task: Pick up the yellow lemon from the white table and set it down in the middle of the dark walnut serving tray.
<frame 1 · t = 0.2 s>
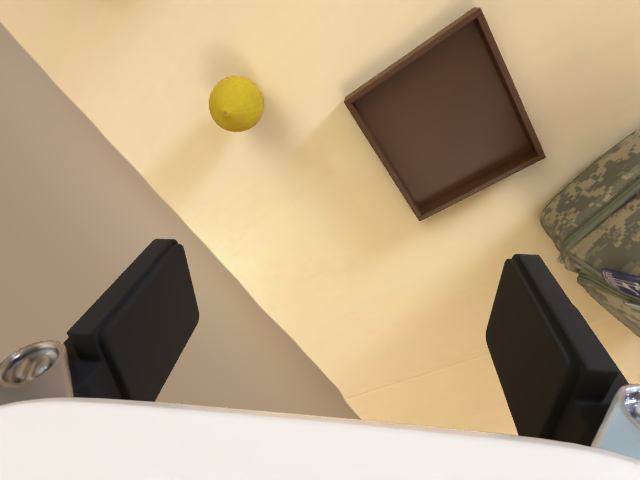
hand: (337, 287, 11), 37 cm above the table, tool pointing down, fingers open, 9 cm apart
lemon: (247, 96, 45), on the table
walnut tray: (442, 123, 44), on the table
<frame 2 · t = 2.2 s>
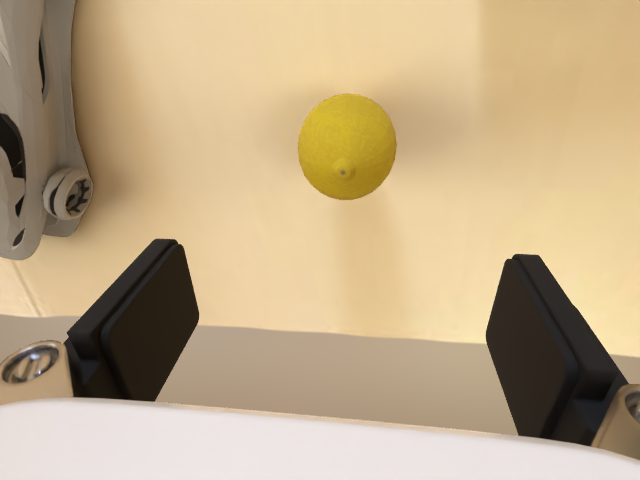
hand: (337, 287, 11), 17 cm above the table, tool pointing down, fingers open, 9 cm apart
lemon: (349, 126, 26), on the table
car model: (17, 94, 27), on the table
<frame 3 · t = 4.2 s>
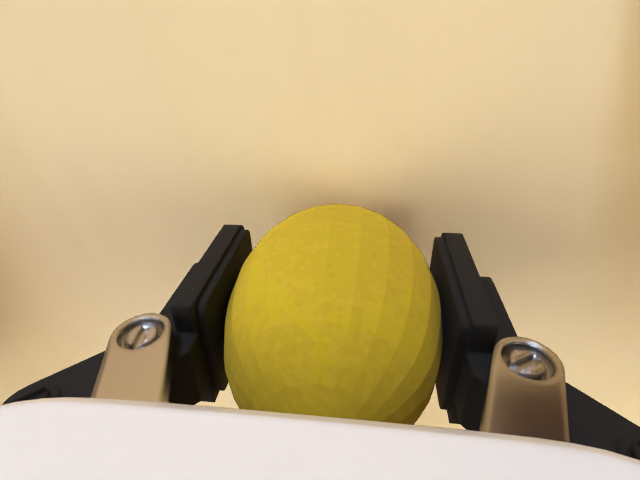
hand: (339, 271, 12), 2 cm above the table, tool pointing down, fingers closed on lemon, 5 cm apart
lemon: (343, 236, 14), on the table, touching gripper
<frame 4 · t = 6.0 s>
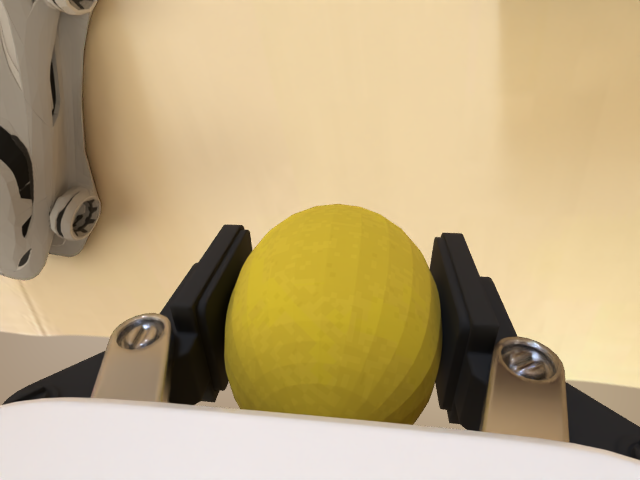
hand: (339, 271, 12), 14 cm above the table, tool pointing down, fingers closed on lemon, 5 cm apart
lemon: (343, 236, 14), point 12 cm above the table, touching gripper
car model: (28, 114, 27), on the table
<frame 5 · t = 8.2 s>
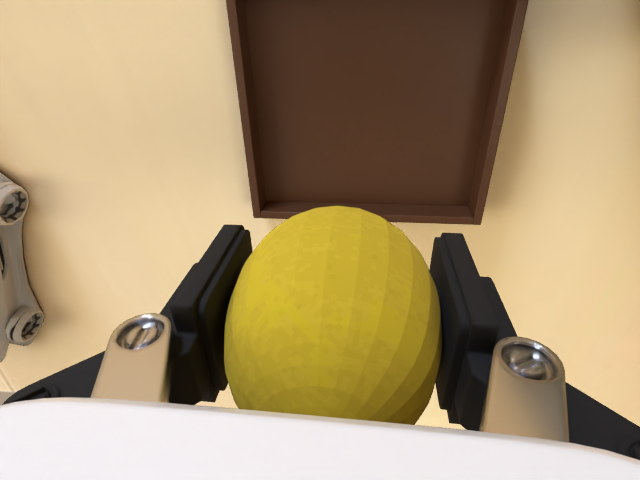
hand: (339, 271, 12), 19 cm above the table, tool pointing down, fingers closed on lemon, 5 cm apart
lemon: (343, 237, 14), point 17 cm above the table, touching gripper
walnut tray: (367, 111, 28), on the table
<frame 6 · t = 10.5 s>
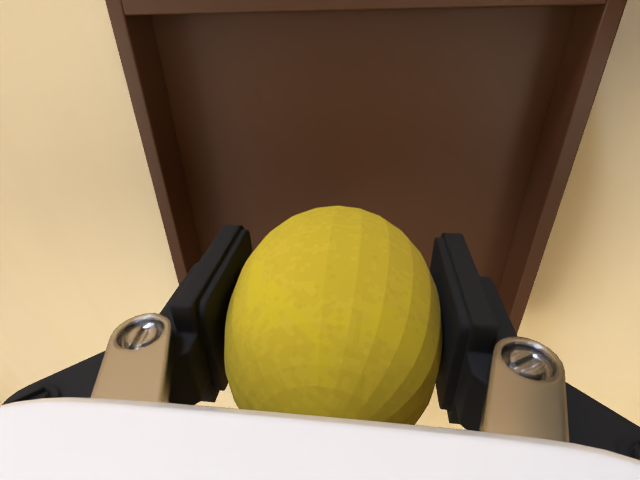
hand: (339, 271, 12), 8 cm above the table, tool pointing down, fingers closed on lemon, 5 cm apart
lemon: (343, 237, 14), point 5 cm above the table, touching gripper
walnut tray: (349, 179, 19), on the table
when the fingers open (3 cm above the table, at t = 12.2 s): lemon stays where it is, resting on walnut tray.
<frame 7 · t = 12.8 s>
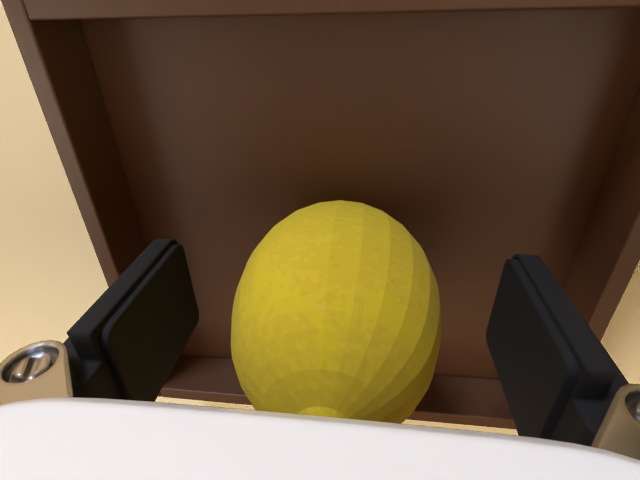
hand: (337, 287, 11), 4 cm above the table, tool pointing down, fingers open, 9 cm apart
lemon: (345, 232, 14), resting on walnut tray
walnut tray: (347, 228, 15), on the table
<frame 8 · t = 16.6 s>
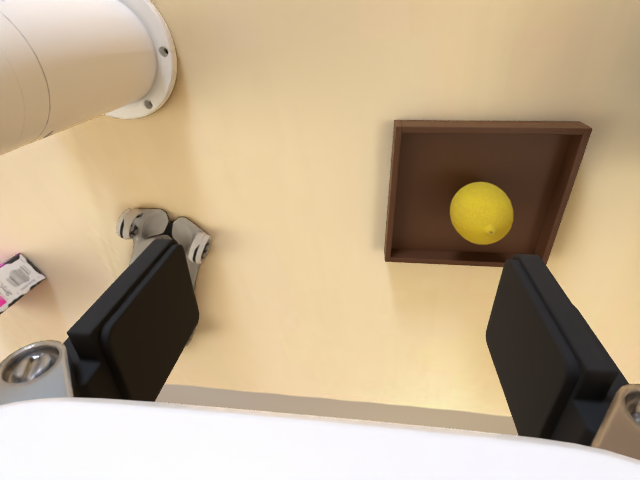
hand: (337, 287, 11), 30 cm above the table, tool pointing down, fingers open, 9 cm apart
candy bar box: (12, 277, 55), on the table
lemon: (470, 194, 41), resting on walnut tray
walnut tray: (470, 193, 41), on the table
car model: (164, 285, 53), on the table
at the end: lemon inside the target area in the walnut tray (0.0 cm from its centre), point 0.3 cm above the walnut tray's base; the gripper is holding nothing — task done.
